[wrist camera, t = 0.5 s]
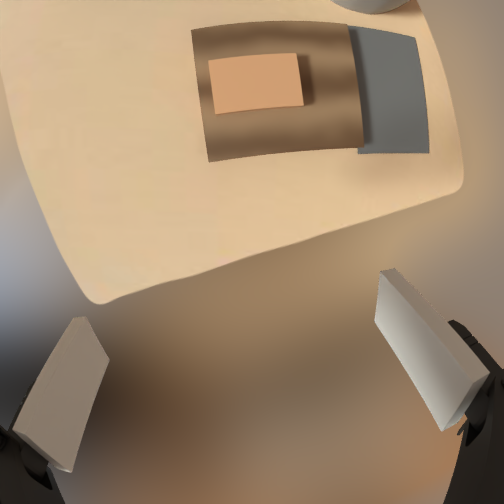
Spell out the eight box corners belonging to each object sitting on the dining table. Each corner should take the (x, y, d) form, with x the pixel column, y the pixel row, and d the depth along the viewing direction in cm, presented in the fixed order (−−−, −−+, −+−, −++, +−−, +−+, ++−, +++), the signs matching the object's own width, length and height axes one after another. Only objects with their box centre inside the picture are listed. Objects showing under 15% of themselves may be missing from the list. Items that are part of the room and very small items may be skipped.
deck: (194, 38, 26) (191, 29, 23) (338, 31, 26) (347, 24, 23) (210, 160, 32) (208, 162, 29) (354, 146, 33) (364, 147, 30)
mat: (340, 25, 26) (341, 24, 26) (413, 38, 26) (414, 37, 26) (358, 153, 33) (358, 153, 33) (427, 153, 33) (429, 153, 33)
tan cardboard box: (209, 65, 25) (208, 60, 23) (292, 57, 25) (296, 53, 23) (216, 115, 27) (215, 114, 26) (299, 107, 28) (303, 105, 26)
